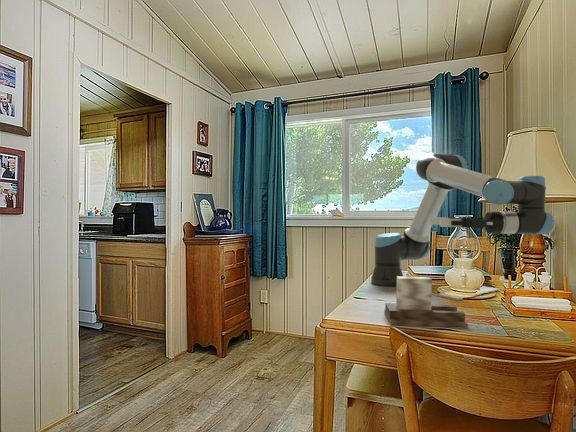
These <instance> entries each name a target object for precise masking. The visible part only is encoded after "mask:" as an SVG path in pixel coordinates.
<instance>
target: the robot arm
mask: <svg viewBox="0 0 576 432" xmlns="http://www.w3.org/2000/svg"><path fill="white" fill-rule="evenodd" d="M415 166H416V167H415V168H416V169H415V170H416V174H417V176H418V177H419V178H420V179H421V180H424V181H427V183H428V185H427V188H426V190H425V192H424V195H423V197H422V199H421V201H420V204H419V206H418V208H417V210H416V213H415V215H414V217H413V219H412V222H411V224H410V227H407V228H405V230H404V232H403V234H401V233H400V232H390V233H388V232H387V233H386V232H385V233H381V234H378V235H376V236H375V240H374V268H373V271H372V274H371V278H370V283H371V284H373V285H376V286H382V287H383V286H385V287H386V286H387V287H397V276H403V277H404V273H403V272H402V269H401V263H402V262H401V261H408V260H409V261H411V260H413V261H414V260H420V259H421V260H422V259H424V258H425V257H427V256H428V255H429V253H430V250H431V246H430V245H431V241H430V237H429V232H430V231H431V228H433V227H432V226H434V225H435V226H437V225H438V226H439V227H440V228H469V229H470V228H474V229H484V230H485V232H486V233H487V234H493V235H494V234H497V235H499V234H501V235H502V234H503V235H505V234H506V236H509V237H510V236H511V235H513V234H514V235H536V236H537V235H547V234H550V233H551V232H552V231H553V228H554V226H555V220H554V217H553V214H552V213H550V212H549V211H546V210H545V207H546V189H547V188H546V187H547V186H546V178H545V177H544V176H543V175H525V176H524V175H522V176H520V177H519V178H518V180H516V181H515V180H505V179H502V178H498V177H495V176H492V175H488V174H485V173H482V172H478V171H475V170H471V169H468V163H467V161H466V159H465V158H464V157H463V156H461V155H458V154H454V153H439V152H438V153H437V152H430V153H429V152H428V153H425V154H424V155H422V156H420V157H419V159H418V161H417V162H416V165H415ZM454 188H455V189H458V190H461V191H464V192H467V193H470V194H473V195H474V196H478V197H481V198H483V199H485V200H486V201H487V202H488V203H490V204H493V205H498V206H501V205H517V211H506V210H505V211H503V210H502V211H490V210H489V211H487V212H486V213H485V215H484V216H485V217H484V216H480V215H479V216H467V217H466V216H462V217H451V216H450V217H447V216H446V217H445V216H444V217H443V216H441V217H440V216H439V217H438V214H439V212H440V210H441V208H442V205H443V203H444V202H445V200H446V197H447V195H448V192H450V191H453V190H454Z"/></svg>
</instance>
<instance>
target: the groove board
mask: <svg viewBox="0 0 576 432" xmlns="http://www.w3.org/2000/svg"><path fill="white" fill-rule="evenodd" d="M383 311H384V312H383V313H384V314H385V316H386V319H387V320H388V323H389V325H390V326H406V327H426V328H427V327H428V328H429V327H430V328H451V327H461V328H460V329H469V327H468V326H469V324H468V323H467V322H466V313H465V312H464V311H458V306H456V305H454V304H453V305H452V304H451V305H448V304H432V310H404V309H398V308H397V306H396V303H394V302H393V303H391V302H389V303H387V302H386V303H385V308H384V309H383Z"/></svg>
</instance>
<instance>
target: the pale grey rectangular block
mask: <svg viewBox="0 0 576 432" xmlns="http://www.w3.org/2000/svg"><path fill="white" fill-rule="evenodd" d="M432 284H433V279H432V278H431V277H429V276H404V275H403V276H397V286H396V299H395V300H396V303H395V304H396V306H397V308H398V309H404V310H432V305H433V303H432V299H433V298H432V297H433V285H432Z"/></svg>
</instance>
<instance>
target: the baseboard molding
mask: <svg viewBox="0 0 576 432" xmlns="http://www.w3.org/2000/svg"><path fill="white" fill-rule="evenodd" d="M486 285H487V286H486ZM481 286H482V287H481V288H480V290H478V291H477V292H476V293H475V294H482V293H486V292H491V291H497V292H500V288H496V287H497V286H496V285H495V286H494V287H492V286H491V285H490V284H489V283H482V285H481ZM489 286H490V287H489ZM433 296H434V297H438V298H444V299H449V300H453V301H457V302H459V301H462V300H464V299H463V298H464V297H457V296H451V295H448V294H446V293H445V292H440V293H436V294H433Z"/></svg>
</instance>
